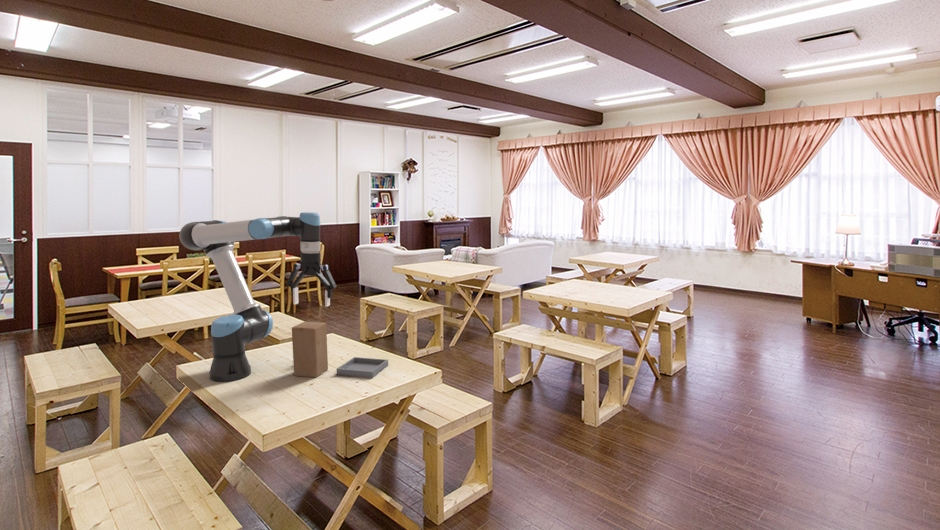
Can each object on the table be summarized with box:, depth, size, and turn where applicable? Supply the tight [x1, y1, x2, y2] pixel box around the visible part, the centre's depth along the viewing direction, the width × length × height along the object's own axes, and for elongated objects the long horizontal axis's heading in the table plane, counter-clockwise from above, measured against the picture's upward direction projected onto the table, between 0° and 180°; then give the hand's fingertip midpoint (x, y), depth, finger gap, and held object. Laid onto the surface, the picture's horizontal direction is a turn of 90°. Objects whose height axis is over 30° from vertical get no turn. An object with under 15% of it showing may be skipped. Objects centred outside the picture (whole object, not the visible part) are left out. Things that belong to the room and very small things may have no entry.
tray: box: [336, 356, 389, 379], centre depth 212 cm, size 16×16×2 cm
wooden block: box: [291, 321, 329, 378], centre depth 208 cm, size 10×10×20 cm
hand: (311, 305), depth 205 cm, fingers open, 13 cm apart
